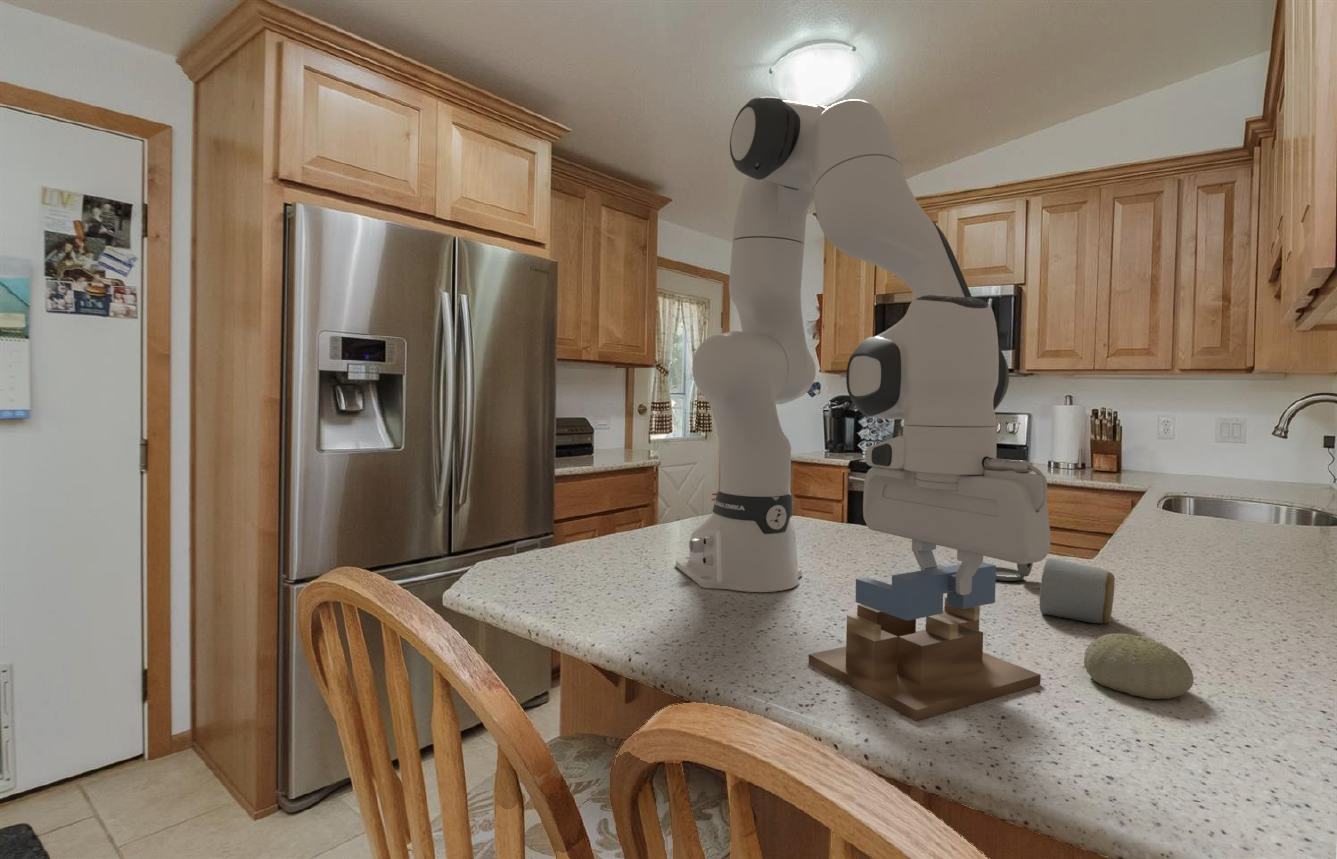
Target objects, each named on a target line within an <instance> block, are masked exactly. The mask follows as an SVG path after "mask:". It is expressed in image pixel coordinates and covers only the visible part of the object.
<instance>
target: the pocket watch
mask: <svg viewBox="0 0 1337 859" xmlns="http://www.w3.org/2000/svg"><path fill="white" fill-rule="evenodd" d="M1033 564H1034V563H1028V564H1017V563H1016V566H1017V568H1016V569H1013V568H1008V567H1002V566H1000V567H999V566H996V581H1004V582H1016V581H1022V580H1023V579H1024V577H1029V575H1030V574H1031V572H1032V570H1033V569H1032V568H1033ZM997 575H1016V576H1017V577H1006V576H997Z"/></svg>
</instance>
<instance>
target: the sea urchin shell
mask: <svg viewBox="0 0 1337 859" xmlns="http://www.w3.org/2000/svg"><path fill="white" fill-rule="evenodd" d="M1083 655H1084V659H1083V660H1084V661H1083V663H1084V664H1083V665H1084V668H1085V671H1086V673H1088V674H1089V676H1090V677H1091V678H1092V680H1093V681H1095V683H1097V682H1098V684H1099V685H1101V686H1102V687H1105V688H1108V689H1109V688H1110V689H1112V690H1114V691H1117V692H1122V693H1125V694H1128V695H1130V696H1134V697H1135V696H1136V697H1141V698H1144V699H1150V700H1159V699H1164V700H1168V699H1172V698H1176V697H1177V698H1178V697H1181V696H1184V694H1185V693H1187V692H1188V691H1189V690H1190V689H1191V688H1192V687H1193V684H1195V682H1194V674H1193V670H1192V669H1191V666H1190V665H1189V662H1187V660H1186V659H1185V658H1184V657H1183V656H1181V655H1180V654H1179V653H1177V652H1176V651H1175V650H1174V649H1173V648H1170V647H1168V646H1167V645H1165V644H1163V643H1162V642H1158V641H1156V640H1155V639H1150V638H1148V637H1145V636H1140V635H1139V636H1138V635H1135V634H1130V633H1108V634H1105V635H1100V636H1099V637H1097V638H1095V639H1094V640H1093V641H1090V643H1089V644H1088V645H1087V647H1086V648H1085V652H1084V653H1083Z"/></svg>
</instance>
